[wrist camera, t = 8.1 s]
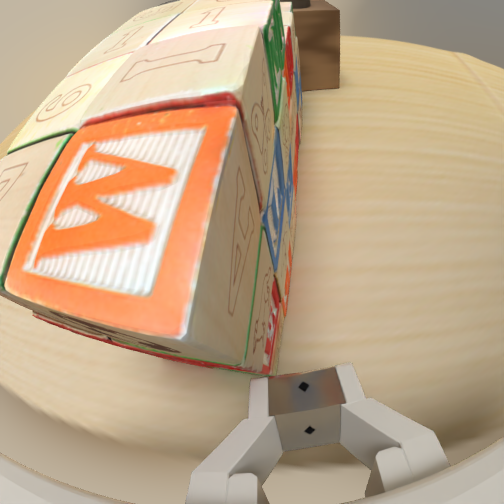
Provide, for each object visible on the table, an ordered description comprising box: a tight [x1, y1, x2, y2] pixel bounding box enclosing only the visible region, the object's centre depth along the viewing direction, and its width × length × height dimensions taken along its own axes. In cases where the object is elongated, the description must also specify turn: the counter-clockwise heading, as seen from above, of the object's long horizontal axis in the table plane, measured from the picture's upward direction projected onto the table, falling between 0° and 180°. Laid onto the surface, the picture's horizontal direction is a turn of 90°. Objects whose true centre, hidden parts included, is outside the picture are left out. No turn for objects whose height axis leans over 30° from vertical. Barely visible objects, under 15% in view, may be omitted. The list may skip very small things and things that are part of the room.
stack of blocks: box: [0, 0, 302, 376], centre depth 13 cm, size 21×6×12 cm, turn 172°
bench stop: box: [156, 0, 340, 91], centre depth 19 cm, size 16×4×10 cm, turn 96°
